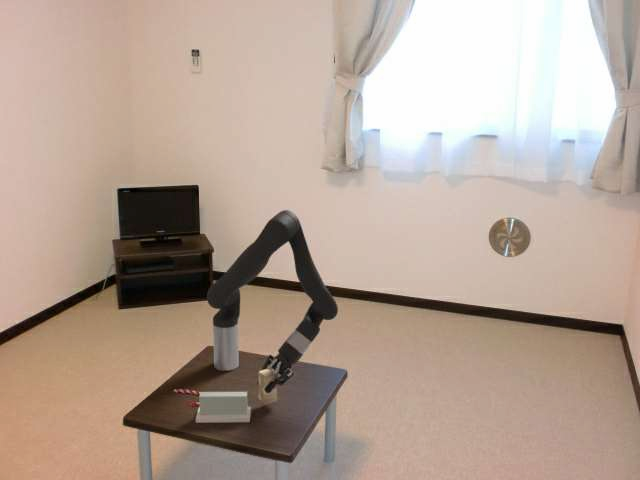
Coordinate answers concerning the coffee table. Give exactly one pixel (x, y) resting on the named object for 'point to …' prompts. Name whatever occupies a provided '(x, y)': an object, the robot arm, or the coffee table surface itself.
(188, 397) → the coffee table surface
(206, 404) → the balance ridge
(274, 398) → the pine block
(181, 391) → the candy cane
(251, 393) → the coffee table surface
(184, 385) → the coffee table surface
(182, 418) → the coffee table surface
